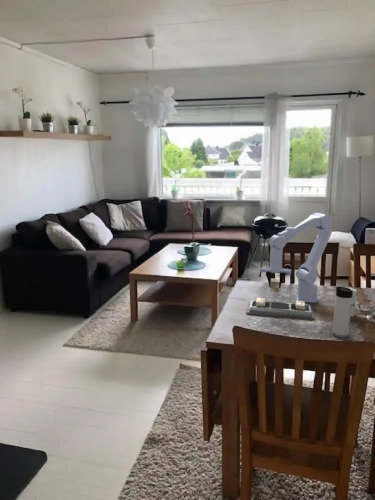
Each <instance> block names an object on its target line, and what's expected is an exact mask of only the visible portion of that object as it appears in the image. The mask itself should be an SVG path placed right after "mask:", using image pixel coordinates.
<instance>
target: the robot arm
mask: <svg viewBox="0 0 375 500" xmlns="http://www.w3.org/2000/svg"><path fill="white" fill-rule="evenodd" d="M333 225H334V219H333V217H332V215H330V214H325V213H321V212H314V213H313V214H310V215H309V216H308V217H307V218H306V219H304V220H303V221H301V222H299V223H298V224H297V225H295V226H294V227H292V226H290V227H289V226H287V227H286V228H285V229H284V230H283V231H281V232H278V233H277V234H273V235H272V236H271V237H270V238H269V240H268V244H269V246H270V253H269V255H270V256H269V267H260V271H259V272H260V273H262V274H263V273H265V277H266V279H267V283H268V287H269V288H270V287H271V278H272V277H271V276H272V274H279V289H281V287H282V283H283V281H284V280H285V277H286V275H287V274H288V275H292V269H289V268H283V253H284V252H283V251H284V247H286V245H287V243H289V242H291V241H292V240H294V239H296V238H298V234H300V233H301V232H304V231H305V230H307V229H309V228H311V227H314V228H315V229H316V230H317V232H318V234H317V237H316V238H315V241H314V243H313V246H312V248H311V251H310V252H309V254H308V257H307V258H306V261H305V262H304V263H302V264H301V265H300V267H299V268H298V269H297V270H296V273H295V276H296V278H297V281H298V282H297V295H295V299H296V300H295V301H304V302H305V303H315V304H316V303H317V299H318V283H315V282H316V281H317V278H318V277H317V276H318V273H319V271H318V267H317V266H318V264H319V262H320V260H321V258H322V256H323V253H324V251H325V249H326V248H327V245H328V242H329V240H330V238H331V235H332V232H333V231H332V229H333Z"/></svg>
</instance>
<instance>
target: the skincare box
mask: <svg viewBox="0 0 375 500" xmlns="http://www.w3.org/2000/svg"><path fill="white" fill-rule="evenodd" d="M348 288H349V289H350V290H353V294H352V296H353V297H352V307H351V317H354V316H355V311H356V310H355V309H356V302H357V295H358V294H357V293H358V292H357V289H356V288H352V287H348Z"/></svg>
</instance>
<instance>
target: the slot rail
mask: <svg viewBox="0 0 375 500" xmlns="http://www.w3.org/2000/svg"><path fill="white" fill-rule="evenodd" d="M246 307H247V308H246V312H245V314H246V315H253V316H263V317H273V318H274V317H275V318H286V319H299V320H310V321H315V320H316V317H315V312H314V308H313V307H311V304H309V303H308V304H307V303H306V302H304V301H297V300H295V301H294V303H293V302H280V301H268V300H267V299H266V298H263V297H256V299H251V300H250V302H248V303H247V306H246Z"/></svg>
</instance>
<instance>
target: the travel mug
mask: <svg viewBox="0 0 375 500" xmlns="http://www.w3.org/2000/svg"><path fill="white" fill-rule="evenodd" d="M349 288H350V287H346V286H335V300H334V308H333V309H334V312H333V322H332V332H331V333H332V335H333V336H335V337H337V338H342V339H343V338H344V339H345V338H348V337H349V335H350V324H351V317H352V316H351V307H352V297H353V296H352V294H353V290H350V289H349Z"/></svg>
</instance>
